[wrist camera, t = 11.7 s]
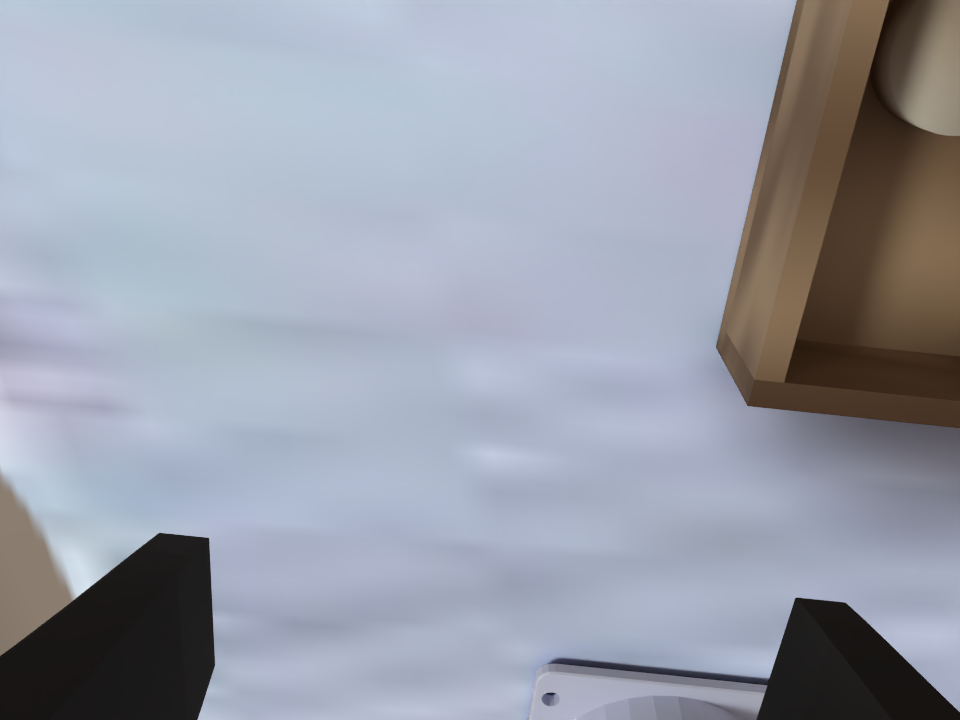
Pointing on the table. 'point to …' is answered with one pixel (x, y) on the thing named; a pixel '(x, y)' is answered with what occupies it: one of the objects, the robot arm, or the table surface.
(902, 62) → the storage box
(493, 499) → the table surface
